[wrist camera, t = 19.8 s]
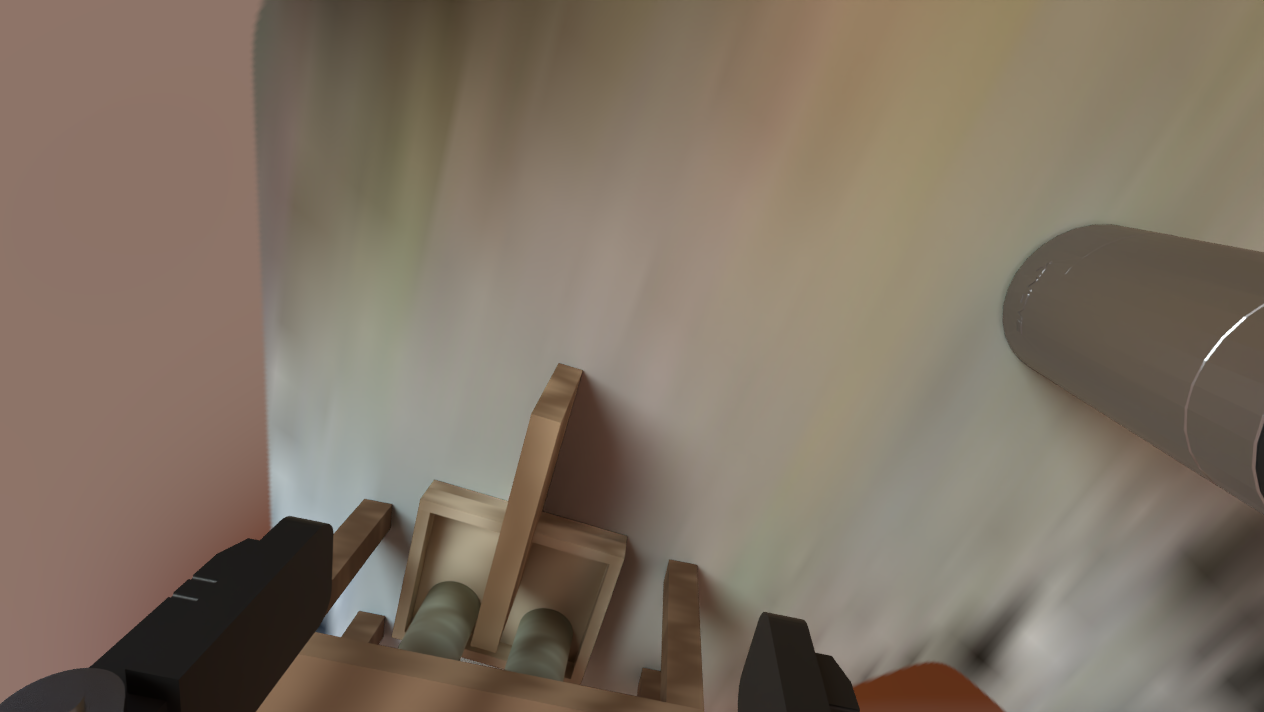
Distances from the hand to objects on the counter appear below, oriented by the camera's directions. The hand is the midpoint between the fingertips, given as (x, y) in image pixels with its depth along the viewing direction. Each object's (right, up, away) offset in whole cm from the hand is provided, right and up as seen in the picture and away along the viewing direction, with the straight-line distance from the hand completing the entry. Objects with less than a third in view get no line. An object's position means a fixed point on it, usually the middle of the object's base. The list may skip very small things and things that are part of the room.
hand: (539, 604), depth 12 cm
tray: (-5, -6, +32) cm, 33 cm away
